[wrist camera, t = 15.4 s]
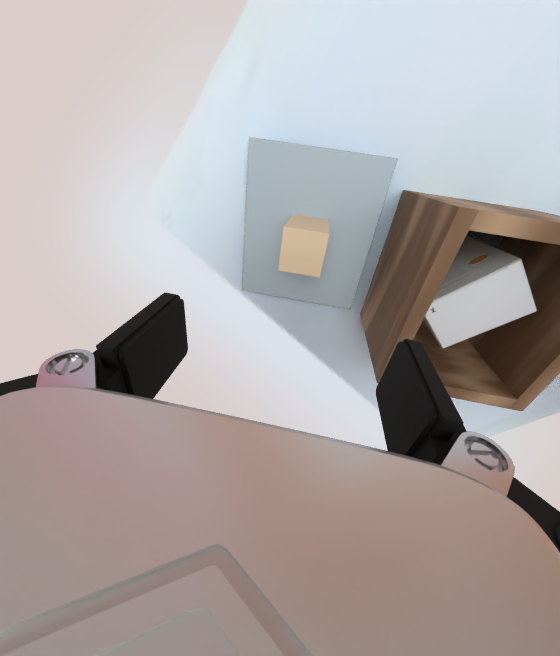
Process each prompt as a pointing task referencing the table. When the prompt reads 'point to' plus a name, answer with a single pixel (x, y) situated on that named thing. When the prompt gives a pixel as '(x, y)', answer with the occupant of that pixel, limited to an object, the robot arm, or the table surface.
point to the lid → (310, 220)
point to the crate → (426, 278)
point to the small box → (479, 294)
